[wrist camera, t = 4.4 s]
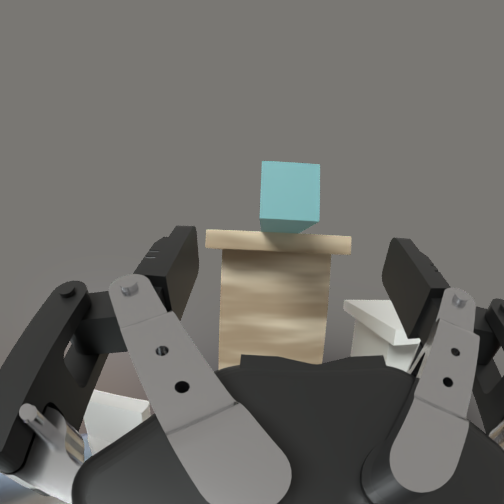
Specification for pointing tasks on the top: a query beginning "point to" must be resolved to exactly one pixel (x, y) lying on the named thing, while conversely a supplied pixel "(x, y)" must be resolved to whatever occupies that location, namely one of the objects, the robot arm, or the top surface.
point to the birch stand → (274, 293)
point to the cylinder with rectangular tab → (112, 418)
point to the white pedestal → (380, 332)
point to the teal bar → (289, 196)
